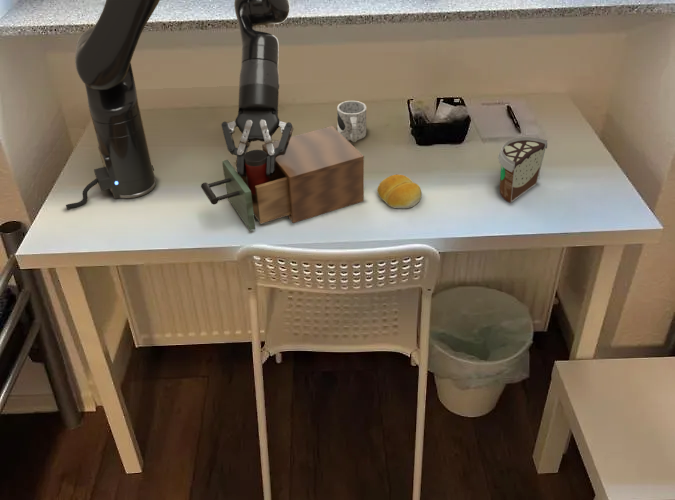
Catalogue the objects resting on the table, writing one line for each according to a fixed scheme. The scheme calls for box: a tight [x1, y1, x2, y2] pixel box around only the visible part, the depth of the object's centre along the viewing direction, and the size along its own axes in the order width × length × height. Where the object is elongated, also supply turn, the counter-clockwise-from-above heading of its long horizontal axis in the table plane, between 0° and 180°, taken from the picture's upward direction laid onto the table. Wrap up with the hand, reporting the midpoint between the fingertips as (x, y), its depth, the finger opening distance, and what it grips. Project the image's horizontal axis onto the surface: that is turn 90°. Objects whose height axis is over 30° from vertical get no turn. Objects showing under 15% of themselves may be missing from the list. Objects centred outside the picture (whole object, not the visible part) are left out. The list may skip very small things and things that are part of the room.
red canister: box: [244, 149, 270, 194], centre depth 135 cm, size 4×4×7 cm
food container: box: [497, 136, 548, 204], centre depth 142 cm, size 12×6×10 cm, turn 135°
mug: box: [336, 100, 367, 143], centre depth 160 cm, size 10×7×7 cm, turn 4°
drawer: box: [200, 152, 291, 231], centre depth 137 cm, size 20×12×9 cm, turn 117°
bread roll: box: [376, 173, 422, 209], centre depth 142 cm, size 8×9×4 cm
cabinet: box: [261, 125, 365, 224], centre depth 141 cm, size 16×14×11 cm
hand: (255, 176), depth 133 cm, fingers closed on red canister, 4 cm apart
